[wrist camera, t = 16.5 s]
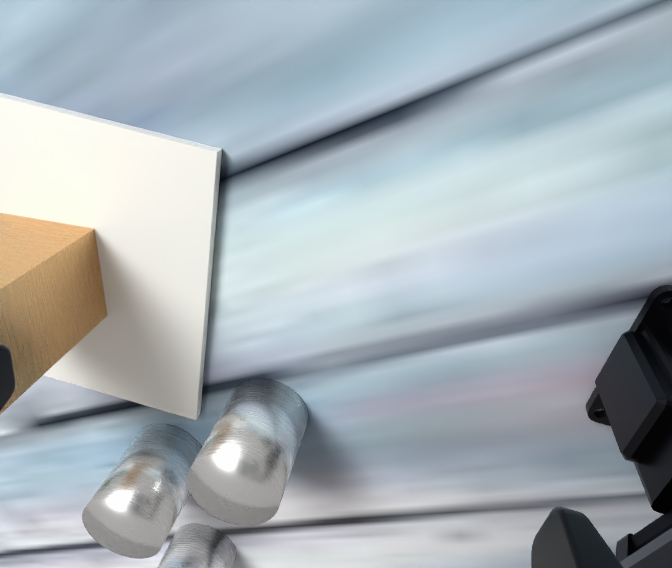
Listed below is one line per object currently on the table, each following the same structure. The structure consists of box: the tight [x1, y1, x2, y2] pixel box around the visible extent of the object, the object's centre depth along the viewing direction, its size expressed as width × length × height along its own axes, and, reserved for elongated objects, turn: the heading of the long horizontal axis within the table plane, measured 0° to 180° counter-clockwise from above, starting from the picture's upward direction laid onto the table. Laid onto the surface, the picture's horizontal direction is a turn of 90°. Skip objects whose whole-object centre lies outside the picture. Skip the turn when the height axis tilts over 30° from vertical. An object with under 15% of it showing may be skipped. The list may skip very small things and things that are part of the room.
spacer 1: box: [82, 424, 202, 558], centre depth 27 cm, size 4×4×5 cm
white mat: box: [0, 93, 222, 420], centre depth 24 cm, size 12×14×1 cm
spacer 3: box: [187, 379, 308, 526], centre depth 24 cm, size 4×4×5 cm
